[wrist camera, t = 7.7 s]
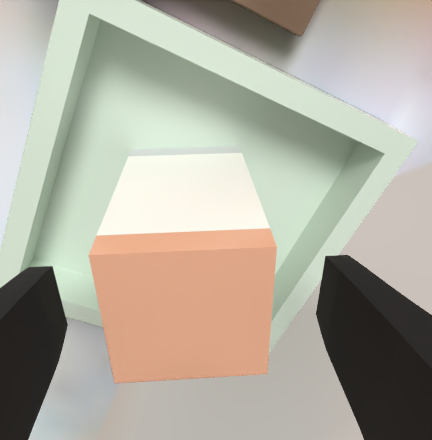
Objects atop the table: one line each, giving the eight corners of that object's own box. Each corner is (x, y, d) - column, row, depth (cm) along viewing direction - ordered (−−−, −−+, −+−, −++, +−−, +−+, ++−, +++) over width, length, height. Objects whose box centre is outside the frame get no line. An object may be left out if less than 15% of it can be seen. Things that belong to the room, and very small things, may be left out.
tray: (384, 122, 15) (418, 141, 13) (250, 329, 20) (257, 369, 18) (88, -26, 12) (67, -34, 10) (15, 259, 17) (-11, 296, 15)
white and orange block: (239, 145, 14) (276, 246, 8) (237, 237, 16) (267, 374, 10) (131, 148, 14) (88, 255, 8) (142, 241, 16) (114, 383, 10)
